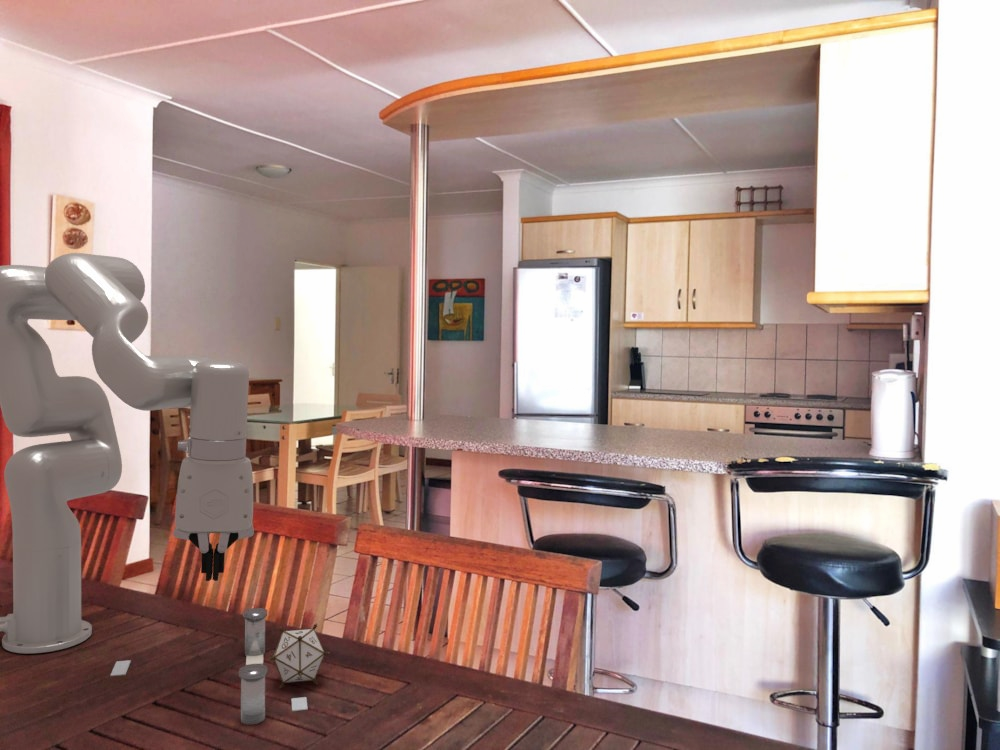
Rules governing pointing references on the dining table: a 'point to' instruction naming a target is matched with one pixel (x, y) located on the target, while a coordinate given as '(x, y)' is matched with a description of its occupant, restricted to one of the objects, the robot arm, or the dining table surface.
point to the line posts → (253, 668)
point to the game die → (298, 655)
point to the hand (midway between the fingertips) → (212, 577)
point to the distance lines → (297, 703)
